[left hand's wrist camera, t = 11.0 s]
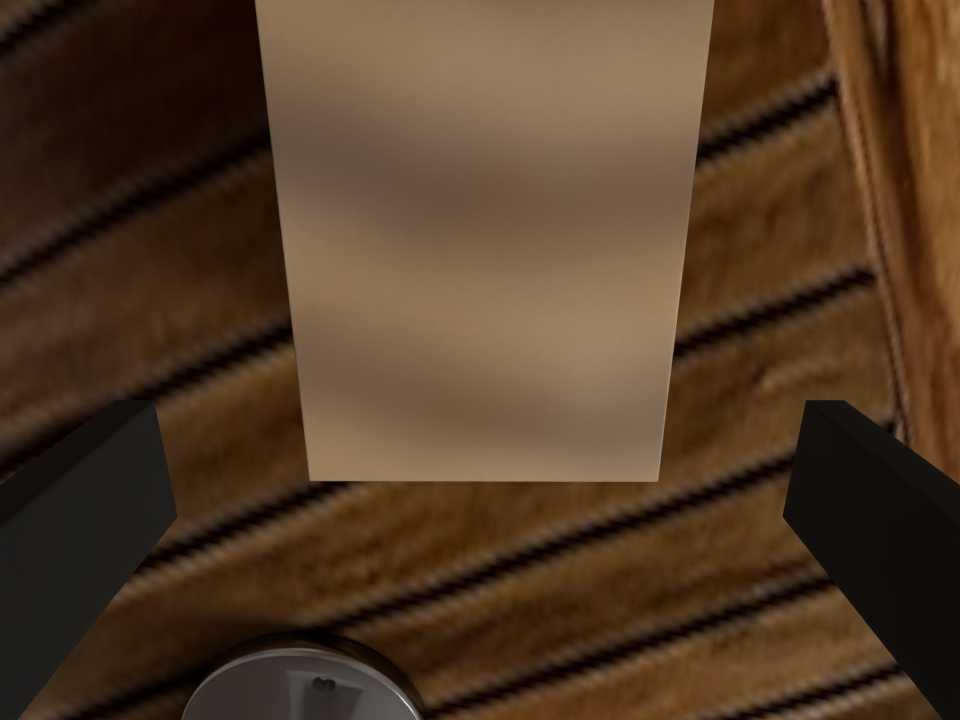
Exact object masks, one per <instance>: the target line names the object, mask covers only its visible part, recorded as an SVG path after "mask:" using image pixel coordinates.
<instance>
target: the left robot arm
mask: <svg viewBox="0 0 960 720" xmlns="http://www.w3.org/2000/svg"><path fill="white" fill-rule="evenodd" d="M176 518H177V512H176V507H175V502H174V497H173V492H172V487H171V482H170V477H169V472H168V468H167V463H166V458H165V453H164V448H163V443H162V438H161V433H160V428H159V423H158V418H157V413H156V408H155V403H154V400H116V401H114V402H113V403H112V404H110V405H109V406H107V407H106V408H105V409H103V410H102V411H101V412H99V413H98V414H97V415H95V416H94V417H92V418H91V419H90V420H88V421H87V422H86V423H84V424H83V425H82V426H80V427H79V428H77V429H76V430H75V431H73V432H72V433H71V434H69V435H68V436H67V437H65V438H64V439H62V440H61V441H60V442H58V443H57V444H56V445H54V446H53V447H52V448H50V449H49V450H47V451H46V452H45V453H43V454H42V455H41V456H39V457H38V458H36V459H35V460H34V461H32V462H31V463H30V464H28V465H27V466H26V467H24V468H23V469H21V470H20V471H19V472H17V473H16V474H15V475H13V476H12V477H11V478H9V479H8V480H6V481H5V482H4V483H2V484H1V485H0V720H17V719H18V718H19V717H20V715H21V714H22V713H23V712H24V710H25V709H26V708H27V706H28V705H29V704H30V703H31V701H32V700H33V699H34V698H35V696H36V695H37V694H38V693H39V691H40V690H41V689H42V688H43V686H44V685H45V684H46V682H47V681H48V680H49V679H50V677H51V676H52V675H53V674H54V672H55V671H56V670H57V669H58V667H59V666H60V665H61V663H62V662H63V661H64V660H65V658H66V657H67V656H68V655H69V653H70V652H71V651H72V650H73V648H74V647H75V646H76V644H77V643H78V642H79V641H80V639H81V638H82V637H83V636H84V634H85V633H86V632H87V631H88V629H89V628H90V627H91V625H92V624H93V623H94V622H95V620H96V619H97V618H98V617H99V615H100V614H101V613H102V612H103V610H104V609H105V608H106V606H107V605H108V604H109V603H110V601H111V600H112V599H113V598H114V596H115V595H116V594H117V593H118V591H119V590H120V589H121V587H122V586H123V585H124V584H125V582H126V581H127V580H128V579H129V577H130V576H131V575H132V574H133V572H134V571H135V570H136V568H137V567H138V566H139V565H140V563H141V562H142V561H143V560H144V558H145V557H146V556H147V555H148V553H149V552H150V551H151V550H152V548H153V547H154V546H155V544H156V543H157V542H158V541H159V539H160V538H161V537H162V536H163V534H164V533H165V532H166V531H167V529H168V528H169V527H170V525H171V524H172V523H173V522H174V520H175V519H176ZM783 518H784V519H785V520H786V522H787V523H788V524H789V525H790V527H791V528H792V529H793V531H794V532H795V533H796V534H797V536H798V537H799V538H800V539H801V541H802V542H803V543H804V544H805V546H806V547H807V548H808V550H809V551H810V552H811V553H812V555H813V556H814V557H815V558H816V560H817V561H818V562H819V563H820V565H821V566H822V567H823V568H824V570H825V571H826V572H827V574H828V575H829V576H830V577H831V579H832V580H833V581H834V582H835V584H836V585H837V586H838V587H839V589H840V590H841V591H842V593H843V594H844V595H845V596H846V598H847V599H848V600H849V601H850V603H851V604H852V605H853V606H854V608H855V609H856V610H857V612H858V613H859V614H860V615H861V617H862V618H863V619H864V620H865V622H866V623H867V624H868V625H869V627H870V628H871V629H872V631H873V632H874V633H875V634H876V636H877V637H878V638H879V639H880V641H881V642H882V643H883V644H884V646H885V647H886V648H887V650H888V651H889V652H890V653H891V655H892V656H893V657H894V658H895V660H896V661H897V662H898V663H899V665H900V666H901V667H902V669H903V670H904V671H905V672H906V674H907V675H908V676H909V677H910V679H911V680H912V681H913V682H914V684H915V685H916V686H917V688H918V689H919V690H920V691H921V693H922V694H923V695H924V696H925V698H926V699H927V700H928V701H929V703H930V704H931V705H932V706H933V708H934V709H935V710H936V712H937V713H938V714H939V715H940V717H941V718H942V719H943V720H960V485H959V484H958V483H956V482H955V481H954V480H952V479H951V478H949V477H948V476H947V475H945V474H944V473H943V472H941V471H940V470H939V469H937V468H936V467H934V466H933V465H932V464H930V463H929V462H928V461H926V460H925V459H924V458H922V457H921V456H919V455H918V454H917V453H915V452H914V451H913V450H911V449H910V448H908V447H907V446H906V445H904V444H903V443H902V442H900V441H899V440H898V439H896V438H895V437H893V436H892V435H891V434H889V433H888V432H887V431H885V430H884V429H883V428H881V427H880V426H878V425H877V424H876V423H874V422H873V421H872V420H870V419H869V418H868V417H866V416H865V415H863V414H862V413H861V412H859V411H858V410H857V409H855V408H854V407H853V406H851V405H850V404H848V403H847V402H846V401H844V400H806V403H805V408H804V413H803V418H802V423H801V428H800V433H799V438H798V443H797V448H796V453H795V458H794V463H793V467H792V472H791V477H790V482H789V487H788V492H787V497H786V502H785V507H784V512H783ZM182 720H428V718H427V713H426V709H425V706H424V704H423V701H422V699H421V697H420V695H419V693H418V692H417V690H416V689H415V687H414V685H413V684H412V683H411V682H410V681H409V679H408V678H407V677H406V676H405V675H404V674H403V673H402V672H401V671H400V670H399V669H398V668H396V667H395V666H394V665H393V664H392V663H390V662H389V661H387V660H386V659H384V658H383V657H381V656H380V655H378V654H376V653H374V652H373V651H371V650H369V649H366V648H364V647H362V646H360V645H357V644H354V643H352V642H349V641H345V640H342V639H339V638H334V637H329V636H324V635H316V634H303V633H294V634H279V635H272V636H267V637H262V638H259V639H255V640H252V641H249V642H246V643H244V644H241V645H239V646H237V647H235V648H233V649H231V650H230V651H228V652H227V653H225V654H223V655H222V656H221V657H220V658H218V659H217V660H216V661H215V662H214V663H213V664H212V665H211V666H210V667H209V668H208V669H207V670H206V672H205V673H204V674H203V676H202V677H201V679H200V681H199V682H198V684H197V686H196V688H195V690H194V692H193V694H192V696H191V698H190V700H189V702H188V704H187V706H186V708H185V710H184V713H183V717H182Z"/></svg>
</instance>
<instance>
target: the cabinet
mask: <svg viewBox="0 0 960 720" xmlns="http://www.w3.org/2000/svg"><path fill="white" fill-rule="evenodd" d="M255 7H256V15H257V24H258V33H259V42H260V50H261V59H262V68H263V77H264V85H265V94H266V103H267V112H268V120H269V129H270V138H271V147H272V155H273V164H274V173H275V181H276V190H277V199H278V208H279V216H280V225H281V234H282V243H283V251H284V260H285V269H286V278H287V286H288V295H289V304H290V313H291V321H292V330H293V339H294V348H295V356H296V365H297V374H298V383H299V391H300V400H301V409H302V418H303V426H304V435H305V444H306V453H307V461H308V470H309V479H310V481H582V482H657V481H658V477H659V469H660V460H661V451H662V443H663V434H664V426H665V417H666V409H667V400H668V392H669V383H670V375H671V366H672V358H673V349H674V340H675V332H676V323H677V315H678V306H679V298H680V289H681V281H682V272H683V264H684V255H685V247H686V238H687V229H688V221H689V212H690V204H691V195H692V187H693V178H694V170H695V161H696V153H697V144H698V136H699V127H700V118H701V110H702V101H703V93H704V84H705V76H706V67H707V59H708V50H709V42H710V33H711V25H712V16H713V7H714V0H255Z"/></svg>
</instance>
